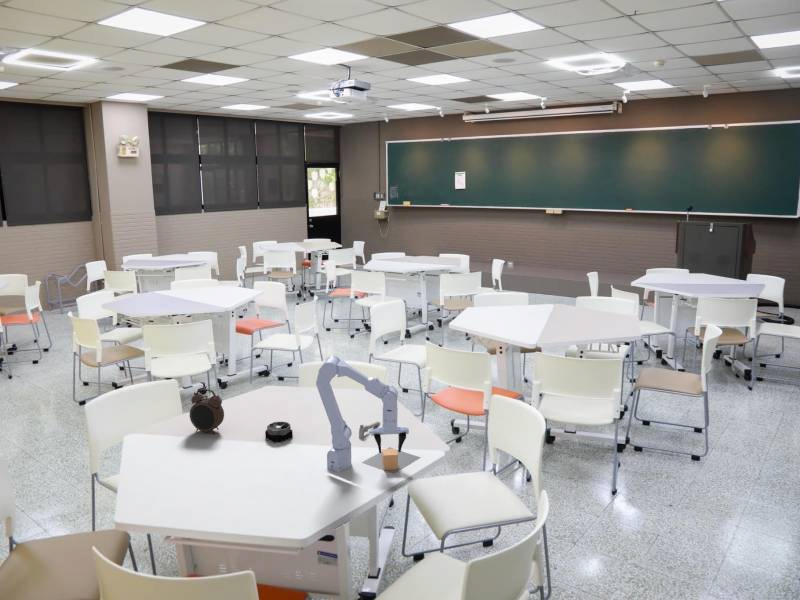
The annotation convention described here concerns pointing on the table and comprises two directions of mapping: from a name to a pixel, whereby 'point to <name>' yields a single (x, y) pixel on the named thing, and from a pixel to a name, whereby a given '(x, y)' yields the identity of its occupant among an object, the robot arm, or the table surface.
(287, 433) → the cpu cooler
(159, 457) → the table surface
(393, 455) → the orange cube
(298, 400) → the table surface
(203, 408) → the alarm clock
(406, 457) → the duct panel
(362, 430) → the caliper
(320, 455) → the table surface
